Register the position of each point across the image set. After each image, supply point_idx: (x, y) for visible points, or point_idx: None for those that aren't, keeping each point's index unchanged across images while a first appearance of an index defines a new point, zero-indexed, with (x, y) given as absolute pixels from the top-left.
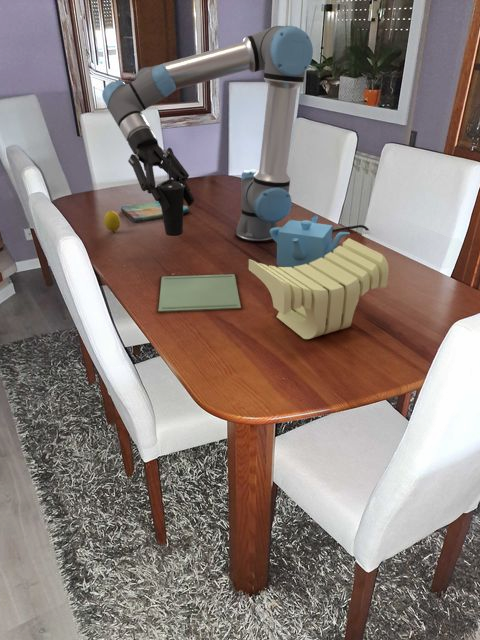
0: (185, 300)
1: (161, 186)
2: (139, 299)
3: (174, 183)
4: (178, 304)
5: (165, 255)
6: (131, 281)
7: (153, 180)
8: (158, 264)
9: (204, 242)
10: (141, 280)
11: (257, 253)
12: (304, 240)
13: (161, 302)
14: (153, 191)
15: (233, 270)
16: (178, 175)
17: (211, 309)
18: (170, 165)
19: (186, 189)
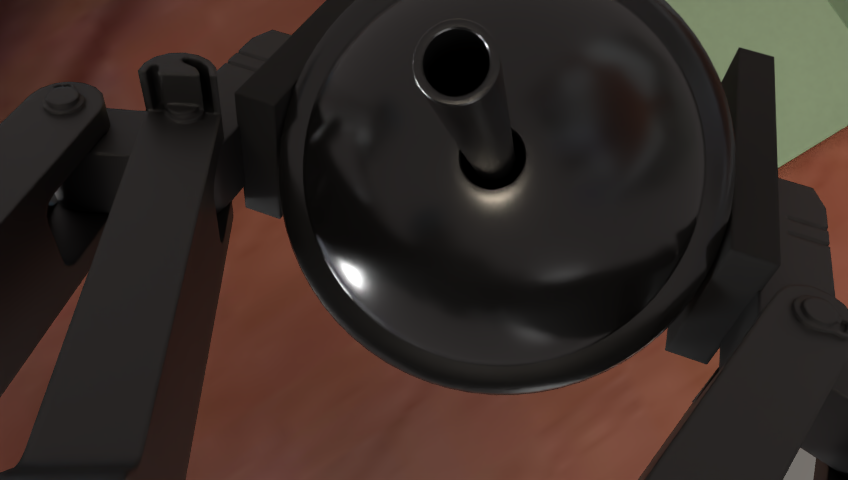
0: (751, 24)
1: (690, 219)
2: (844, 253)
3: (547, 37)
4: (811, 28)
5: (291, 453)
6: (674, 424)
7: (765, 364)
8: (413, 419)
9: (42, 355)
10: (637, 382)
11: (55, 22)
12: None
13: (834, 119)
14: (828, 284)
15: (301, 18)
16: (203, 170)
17: None
18: (463, 57)
19: None
